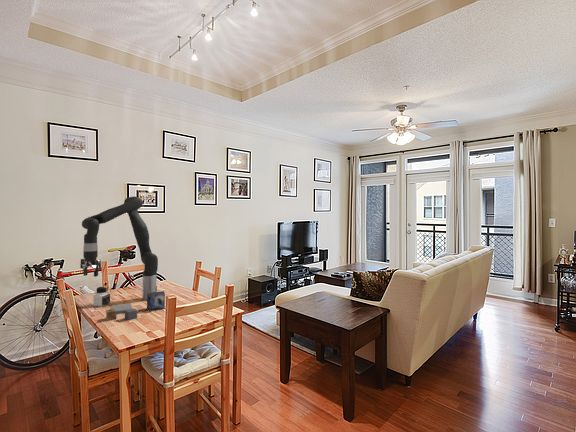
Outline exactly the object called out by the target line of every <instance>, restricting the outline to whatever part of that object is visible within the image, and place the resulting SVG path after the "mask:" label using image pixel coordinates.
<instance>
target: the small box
mask: <svg viewBox="0 0 576 432" xmlns="http://www.w3.org/2000/svg"><path fill="white" fill-rule="evenodd" d="M165 295H166V292H165V291H164V290H162V291H157V292H150V293H147V300H146V309H147V311H157V310H165V307H166V305H165V304H166V300H165V299H166V296H165Z"/></svg>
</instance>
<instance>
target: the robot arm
mask: <svg viewBox="0 0 576 432" xmlns="http://www.w3.org/2000/svg"><path fill="white" fill-rule="evenodd" d="M123 202H124V203H123V204H120V205H118V206H114V207H111V208H107V209H106V210H103V211H102V212H100V213H97V214H94V215H91V216H88V217H86V218H85V219H83V220H82V221H81V226H82V228H83V229H85V230H86V233H85V234H84V235H83V248H82V249H83V252H82V253H83V258H81V259H80V266H79V267H80V269H82V270H83V272H82V273H83V276H85V277H86V276H88V273H89V271H88V268H89V267H91V269H92V270H93V277H94V278H96V277H98V276H99V270H101V269H102V262H101V261H102V260H101V259H97V258H98V255H99V254H98V247H99V246H98V233H99V230H100V225H101V224H106V223H108V222H111V221H112V220H115V219H117V218H119V217H120V216H122V215H124V214H127V215H128V218H129V221H130V224H131V228H132V231H133V234H134V238H135V241H136V244H137V246H138V250H139V255H140V260H141V262H142V264H143V265H144V269H143V271H142V300H143V301H147V293H150V292H158V286H157V274H158V273H157V272H158V266H159V259H158V256H157V255H156V254H155V253H153V252H152V250H151V245H150V232H149V229H148V227H147V224H146V222H145V221H144V219H143V218H142V217H141V215H140V214H139V209H141V208H142V206H143V203H144V202H143V200H142V198H141V197H139V196H129V197H126V198H125V199H124V201H123Z"/></svg>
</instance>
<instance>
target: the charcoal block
mask: <svg viewBox="0 0 576 432" xmlns="http://www.w3.org/2000/svg"><path fill="white" fill-rule="evenodd" d="M124 319H125V320H127V321H132V320H135V319H138V310H137V309H135V308H132V309H129V310H125V313H124Z"/></svg>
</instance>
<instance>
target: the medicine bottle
mask: <svg viewBox="0 0 576 432" xmlns="http://www.w3.org/2000/svg"><path fill="white" fill-rule="evenodd" d="M92 296H93V297H92V299H93V300H92V303H93V304H92V306H94V307H106V306H107V305H110V304H111V293H110V292H109V293H108V287H107V286H98V287H97V288H96V294H93V295H92Z"/></svg>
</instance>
